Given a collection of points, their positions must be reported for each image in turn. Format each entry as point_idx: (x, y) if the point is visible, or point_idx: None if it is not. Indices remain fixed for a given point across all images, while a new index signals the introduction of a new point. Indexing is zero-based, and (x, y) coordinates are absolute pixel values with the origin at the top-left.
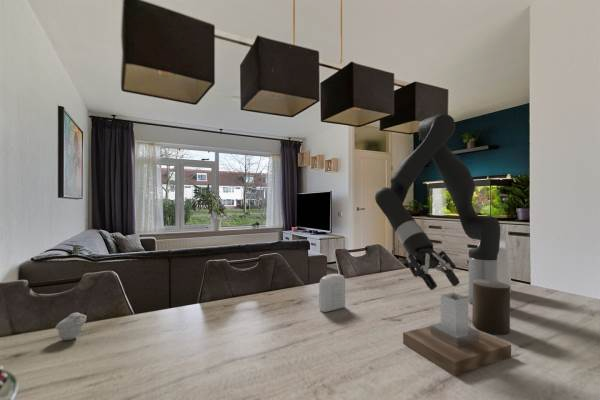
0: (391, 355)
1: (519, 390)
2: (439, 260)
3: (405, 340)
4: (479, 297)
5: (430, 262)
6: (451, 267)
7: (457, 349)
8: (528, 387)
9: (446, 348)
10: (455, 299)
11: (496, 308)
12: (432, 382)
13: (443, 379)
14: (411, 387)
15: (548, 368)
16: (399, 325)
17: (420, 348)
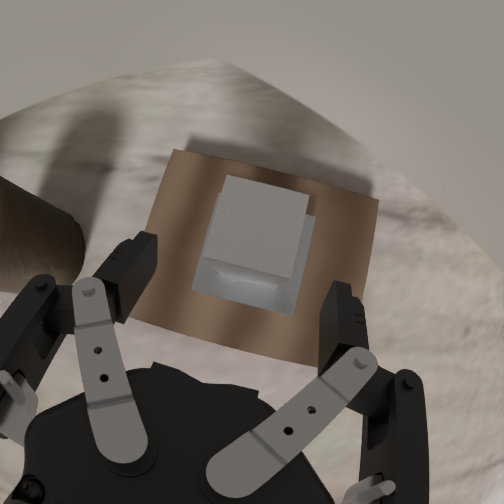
0: (406, 342)
1: (310, 118)
2: (123, 368)
3: None
4: (24, 251)
5: (236, 412)
6: (75, 288)
7: (316, 220)
8: (286, 111)
9: (335, 242)
10: (302, 200)
11: (40, 207)
12: (420, 228)
13: (396, 219)
14: (457, 246)
15: (177, 108)
16: None
17: None
